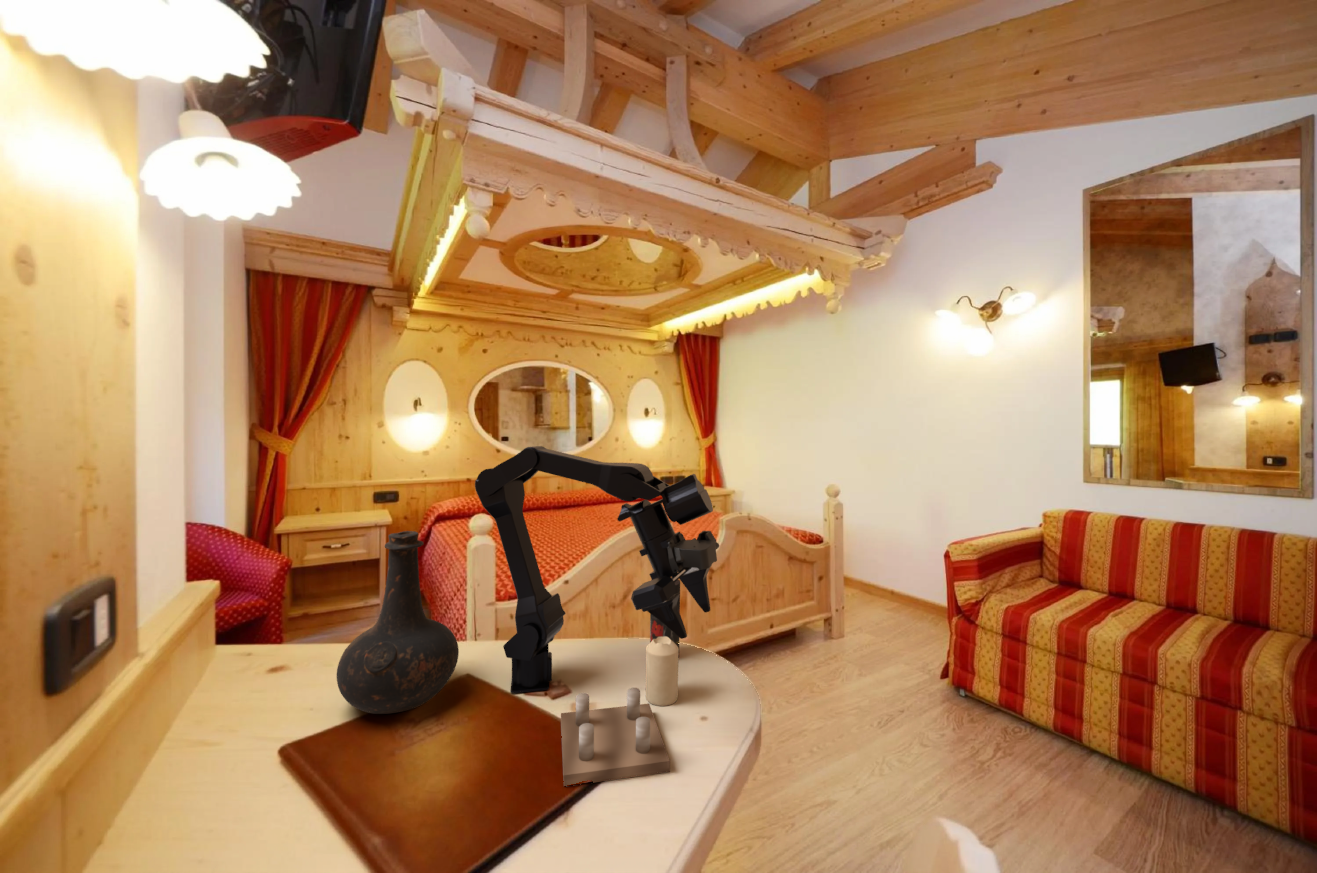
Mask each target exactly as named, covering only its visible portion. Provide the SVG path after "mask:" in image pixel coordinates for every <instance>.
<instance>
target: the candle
mask: <svg viewBox="0 0 1317 873" xmlns="http://www.w3.org/2000/svg"><path fill="white" fill-rule="evenodd" d="M678 650H679V651H680V648H679V649H678V646H677V645H676V644H675V643H674V642H673V641H671V640H670V639H669V638H668V637H658V638H657V639H653V640H652V641H651V642H650V641H649V643H648V644H647V645H646V647H645V699H646V702H648V704H650V705H651V704H652V705H653V706H656V707H667V706H670V705H673V704H674V703H676V702H677V700H678V696H679V695H678V694H679V658H678Z"/></svg>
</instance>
